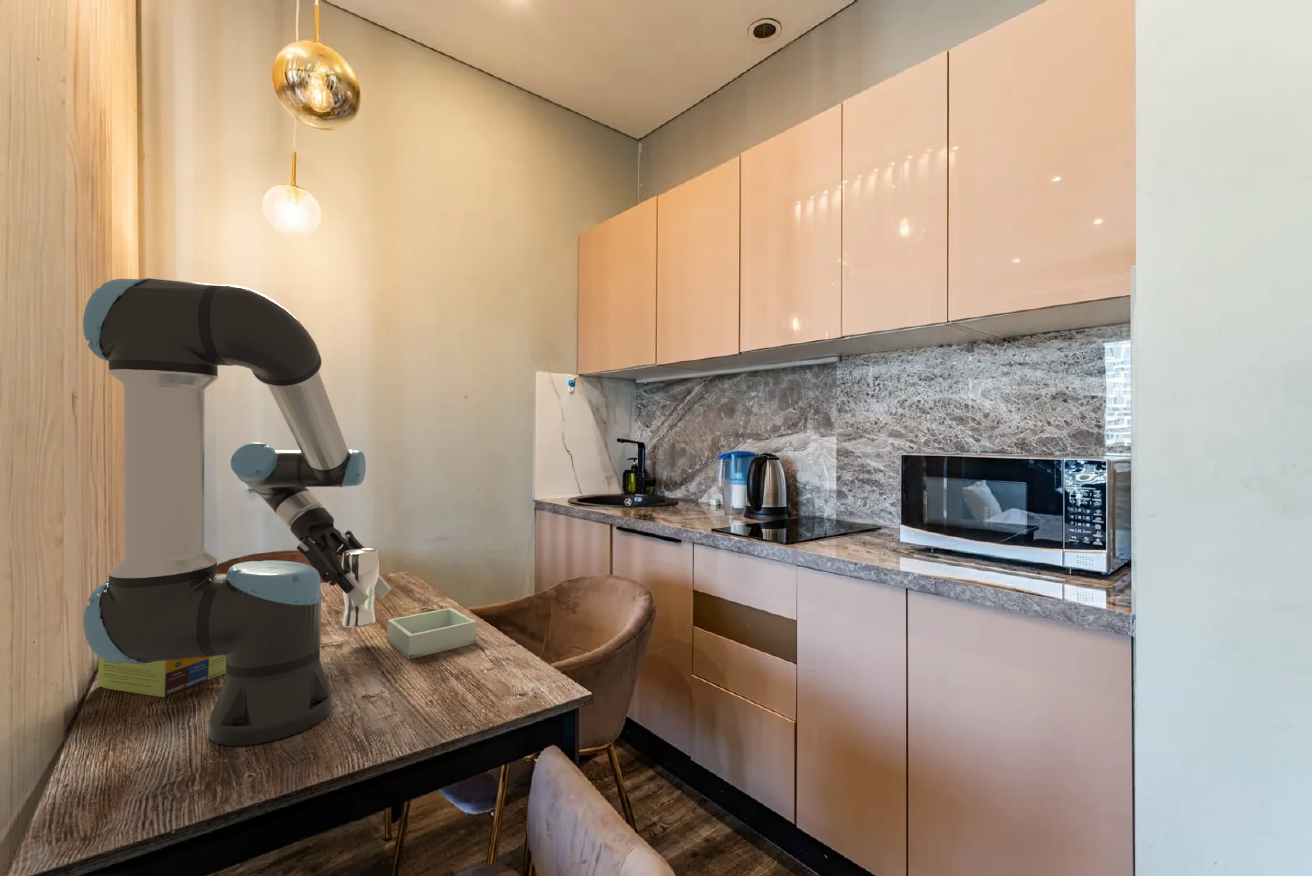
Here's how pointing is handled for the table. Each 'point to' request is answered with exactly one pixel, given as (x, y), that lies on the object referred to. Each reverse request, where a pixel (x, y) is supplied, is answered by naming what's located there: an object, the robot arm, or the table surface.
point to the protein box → (159, 675)
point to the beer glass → (366, 574)
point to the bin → (431, 632)
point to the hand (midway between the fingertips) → (375, 597)
